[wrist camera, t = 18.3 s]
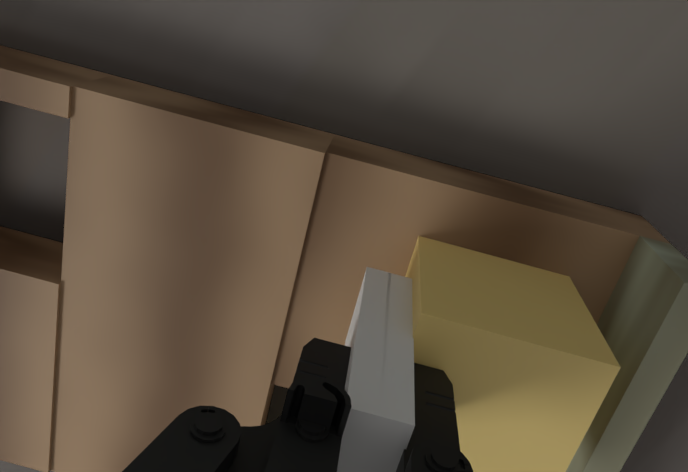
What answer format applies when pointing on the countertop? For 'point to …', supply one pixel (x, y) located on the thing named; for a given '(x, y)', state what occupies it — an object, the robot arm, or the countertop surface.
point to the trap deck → (268, 267)
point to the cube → (509, 355)
